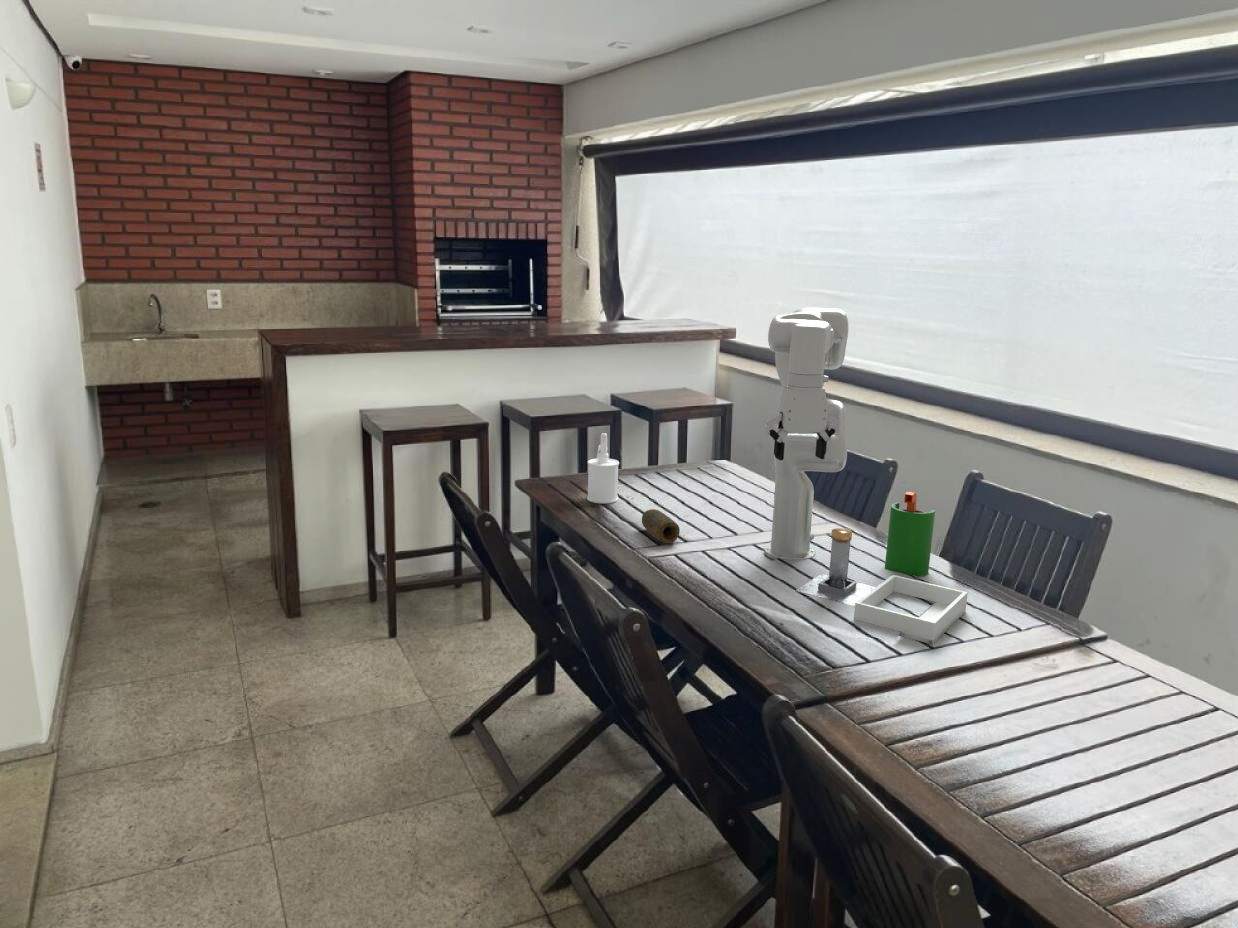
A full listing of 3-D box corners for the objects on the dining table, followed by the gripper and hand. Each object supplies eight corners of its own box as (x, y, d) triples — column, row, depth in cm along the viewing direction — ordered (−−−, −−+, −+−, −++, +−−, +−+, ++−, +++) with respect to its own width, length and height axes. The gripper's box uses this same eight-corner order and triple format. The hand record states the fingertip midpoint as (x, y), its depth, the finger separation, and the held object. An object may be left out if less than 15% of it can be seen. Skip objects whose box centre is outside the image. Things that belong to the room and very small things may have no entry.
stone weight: (684, 544, 249) (685, 519, 247) (659, 547, 246) (660, 522, 244) (660, 527, 262) (661, 503, 260) (636, 530, 260) (637, 506, 258)
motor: (930, 568, 236) (939, 489, 231) (925, 580, 228) (934, 498, 223) (887, 561, 240) (895, 483, 235) (881, 572, 232) (889, 492, 227)
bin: (891, 593, 218) (892, 574, 217) (965, 611, 209) (967, 592, 208) (853, 623, 201) (855, 602, 200) (932, 644, 192) (934, 623, 191)
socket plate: (820, 577, 227) (821, 567, 227) (878, 591, 219) (879, 581, 219) (794, 594, 216) (795, 584, 216) (853, 610, 208) (854, 599, 208)
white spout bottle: (617, 504, 282) (619, 437, 278) (586, 503, 282) (587, 436, 278) (618, 494, 293) (620, 429, 288) (587, 493, 293) (589, 429, 288)
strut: (831, 584, 221) (836, 527, 217) (850, 588, 218) (855, 531, 215) (823, 589, 217) (828, 531, 214) (842, 594, 215) (847, 535, 211)
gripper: (834, 378, 215) (827, 453, 218) (761, 379, 210) (756, 455, 214) (849, 383, 208) (843, 461, 211) (774, 384, 203) (769, 463, 207)
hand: (799, 458), depth 213 cm, fingers open, 9 cm apart
